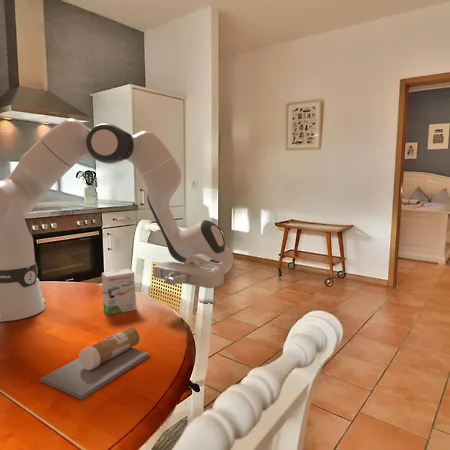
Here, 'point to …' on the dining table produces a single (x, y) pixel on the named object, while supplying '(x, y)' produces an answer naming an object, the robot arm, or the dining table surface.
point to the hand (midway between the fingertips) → (168, 281)
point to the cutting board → (92, 373)
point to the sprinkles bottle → (108, 348)
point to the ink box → (118, 291)
